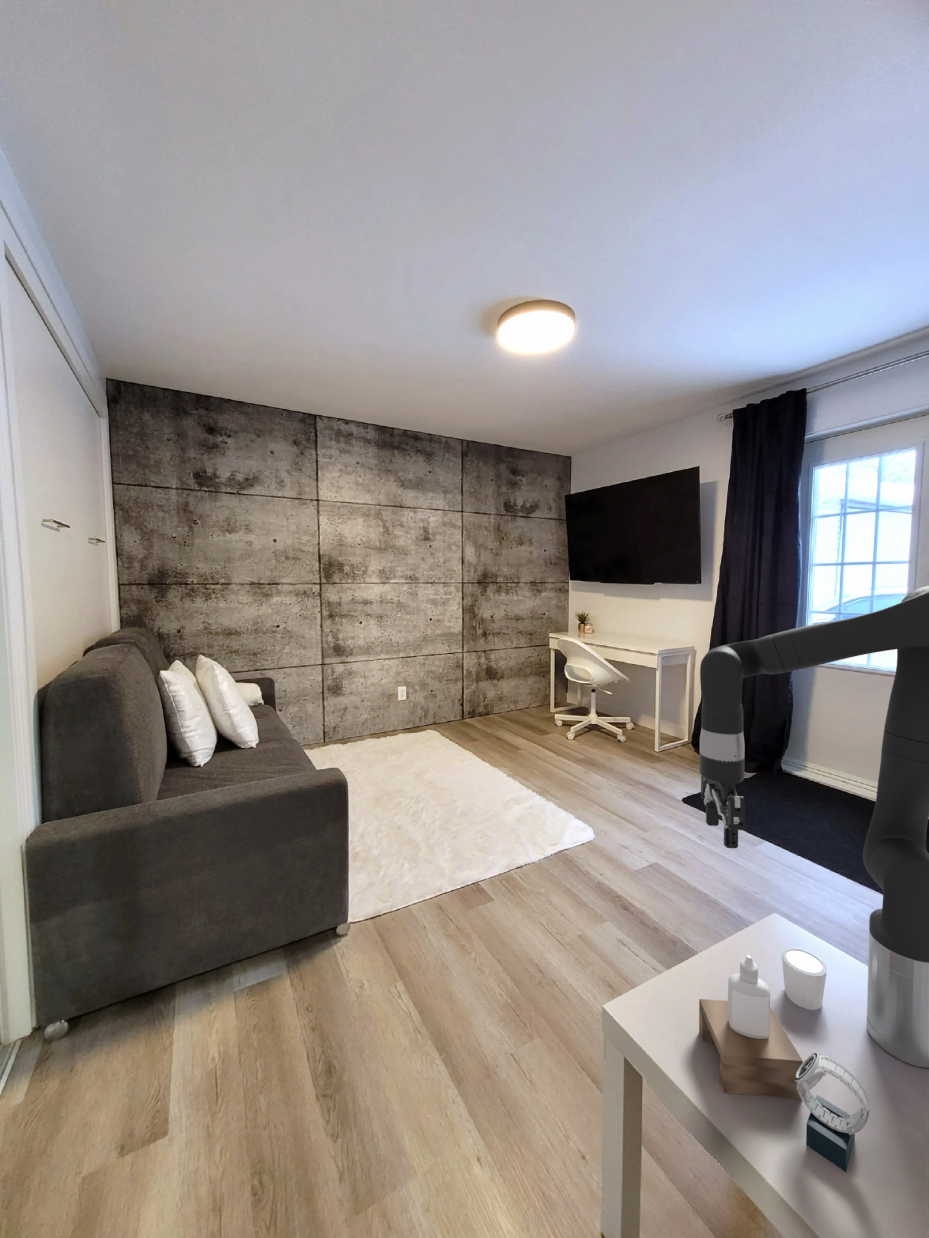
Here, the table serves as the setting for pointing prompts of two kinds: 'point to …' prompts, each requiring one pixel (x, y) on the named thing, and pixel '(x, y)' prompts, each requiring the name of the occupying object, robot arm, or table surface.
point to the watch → (830, 1111)
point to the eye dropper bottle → (749, 1002)
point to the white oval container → (804, 978)
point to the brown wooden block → (750, 1055)
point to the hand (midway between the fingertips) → (721, 835)
